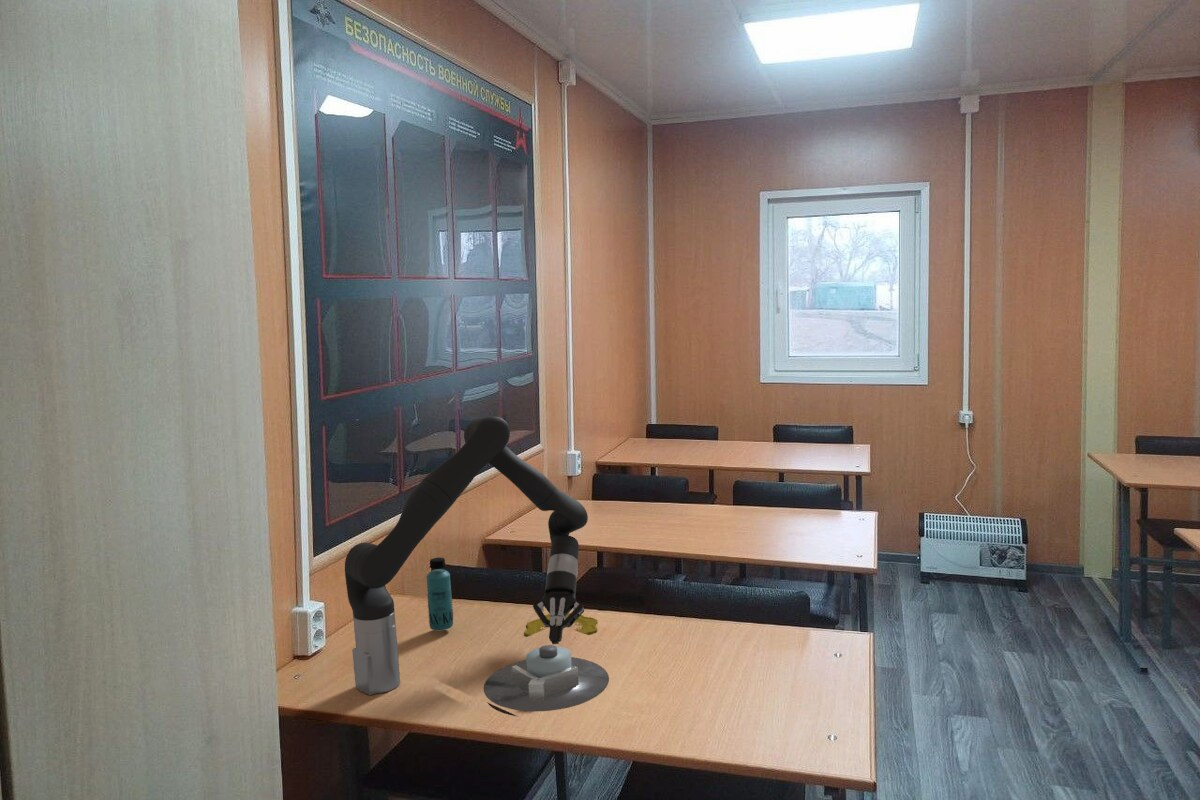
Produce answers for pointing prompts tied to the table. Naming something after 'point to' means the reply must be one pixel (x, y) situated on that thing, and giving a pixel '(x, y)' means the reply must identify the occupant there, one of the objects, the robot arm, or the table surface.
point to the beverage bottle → (439, 596)
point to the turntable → (545, 687)
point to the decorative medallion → (586, 622)
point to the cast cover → (548, 660)
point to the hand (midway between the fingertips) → (554, 642)
